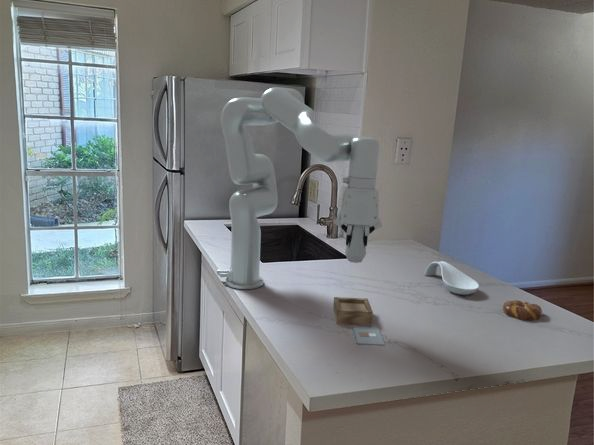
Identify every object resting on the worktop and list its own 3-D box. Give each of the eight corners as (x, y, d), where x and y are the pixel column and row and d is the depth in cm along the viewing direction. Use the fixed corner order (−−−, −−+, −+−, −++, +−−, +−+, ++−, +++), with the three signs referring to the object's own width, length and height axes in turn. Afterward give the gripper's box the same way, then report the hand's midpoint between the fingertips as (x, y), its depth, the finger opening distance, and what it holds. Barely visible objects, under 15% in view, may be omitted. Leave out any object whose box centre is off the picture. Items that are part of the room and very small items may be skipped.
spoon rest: (485, 297, 173) (488, 276, 171) (456, 300, 169) (459, 279, 167) (441, 274, 194) (444, 256, 193) (415, 276, 190) (417, 257, 188)
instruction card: (357, 344, 134) (357, 342, 133) (352, 327, 143) (353, 326, 143) (384, 345, 134) (384, 343, 134) (378, 328, 143) (378, 327, 143)
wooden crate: (336, 323, 145) (337, 310, 144) (333, 309, 155) (334, 296, 154) (371, 325, 145) (372, 311, 144) (366, 311, 155) (367, 298, 154)
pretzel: (529, 307, 166) (531, 296, 166) (550, 322, 156) (552, 310, 155) (494, 307, 164) (496, 296, 164) (513, 322, 154) (515, 310, 153)
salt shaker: (343, 257, 148) (346, 212, 145) (362, 257, 149) (367, 213, 146) (346, 263, 143) (350, 217, 140) (367, 264, 143) (371, 218, 140)
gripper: (332, 183, 137) (327, 250, 141) (394, 187, 137) (387, 253, 141) (330, 179, 144) (326, 242, 148) (389, 182, 144) (382, 246, 149)
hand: (356, 247), depth 145 cm, fingers closed on salt shaker, 3 cm apart
